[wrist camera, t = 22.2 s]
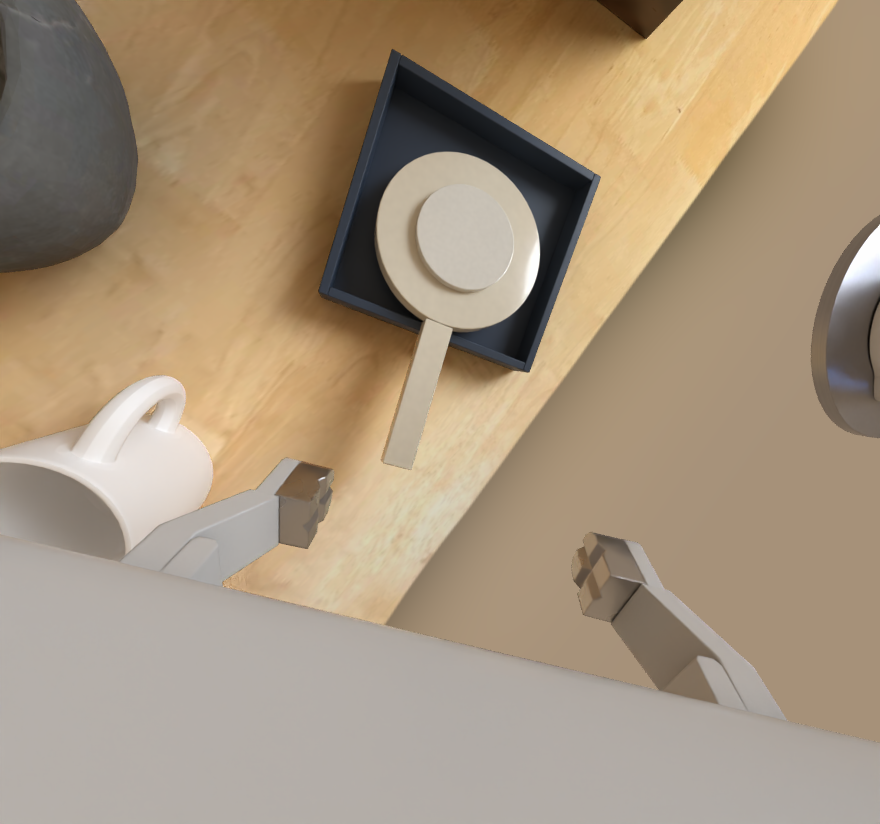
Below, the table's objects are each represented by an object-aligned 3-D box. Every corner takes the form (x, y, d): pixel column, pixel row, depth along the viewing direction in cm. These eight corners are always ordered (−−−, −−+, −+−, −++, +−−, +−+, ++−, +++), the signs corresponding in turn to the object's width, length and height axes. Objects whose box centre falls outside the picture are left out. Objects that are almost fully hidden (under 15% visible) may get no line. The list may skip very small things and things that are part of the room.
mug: (140, 339, 23) (-20, 332, 13) (264, 401, 25) (208, 435, 15) (52, 496, 23) (-169, 606, 13) (183, 542, 26) (78, 664, 16)
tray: (579, 191, 28) (601, 176, 26) (514, 370, 30) (529, 372, 27) (387, 79, 24) (392, 47, 21) (321, 297, 25) (317, 291, 22)
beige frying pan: (548, 209, 27) (563, 196, 26) (471, 483, 26) (481, 489, 24) (403, 130, 24) (409, 108, 22) (304, 440, 22) (302, 443, 21)
